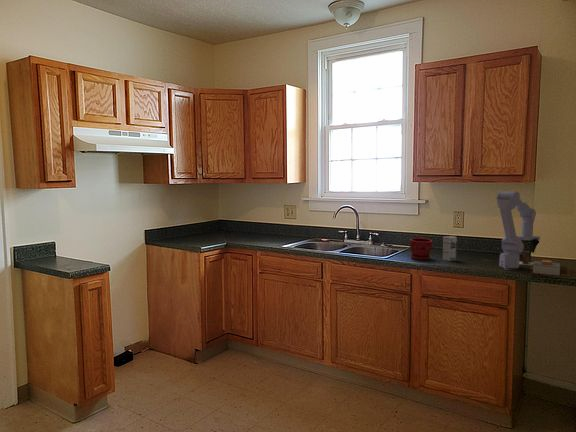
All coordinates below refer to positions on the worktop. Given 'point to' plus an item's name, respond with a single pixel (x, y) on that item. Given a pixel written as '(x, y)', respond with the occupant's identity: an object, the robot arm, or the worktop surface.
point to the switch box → (546, 268)
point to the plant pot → (420, 248)
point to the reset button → (546, 262)
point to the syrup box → (449, 248)
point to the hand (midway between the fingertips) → (526, 252)
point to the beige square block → (526, 264)
